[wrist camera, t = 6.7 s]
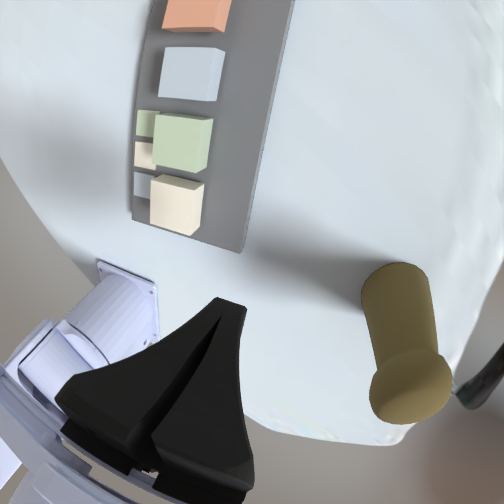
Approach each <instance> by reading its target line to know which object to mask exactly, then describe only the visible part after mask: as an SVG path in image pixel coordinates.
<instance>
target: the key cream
mask: <svg viewBox="0 0 504 504" xmlns="http://www.w3.org/2000/svg"><path fill="white" fill-rule="evenodd" d="M203 192H204V183H199V182H195V181H191V180H187V179H183V178H178V177H174V176H169V175H165V174H162V175H160V176H158V177H156V178H154V179H152V180H151V192H150V224H153V225H157V226H160V227H163V228H166V229H169V230H173V231H176V232H179V233H182V234H185V235H189V236H191V235H192V234H193V233H194V232H195V231H196V230H197V229H198V228H199V227H200V219H201V209H202V200H203Z"/></svg>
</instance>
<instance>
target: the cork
mask: <svg viewBox="0 0 504 504" xmlns="http://www.w3.org/2000/svg"><path fill="white" fill-rule="evenodd" d="M361 302H362V306H363V310H364V313H365V317H366V321H367V325H368V330H369V334H370V338H371V342H372V347H373V351H374V356H375V361H376V365H377V371H376V373H375V374H374V375H373V379H372V382H371V386H370V391H369V400H370V404H371V407H372V410H373V412H374V413H375V415H376V416H377V417H378V418H379V419H381V420H382V421H384V422H388V423H391V424H400V425H402V424H411V423H415V422H419V421H422V420H424V419H427V418H429V417H431V416H432V415H434V414H435V413H437V412H438V411H439V410H440V409H441V408H443V406H445V404H446V403H447V401H448V399H449V397H450V394H451V392H452V373H451V369H450V367H449V366H448V364H447V362H446V361H445V359H444V357H443V356H441V355H439V354H438V343H437V333H436V325H435V317H434V310H433V304H432V298H431V292H430V286H429V281H428V278H427V276H426V275H425V273H424V272H423V271H422V270H421V269H420V268H418V267H417V266H415V265H412V264H408V263H392V264H389V265H386V266H383V267H381V268H380V269H378V270H377V271H375V272H374V273H372V274H371V276H370V277H369V278H368V279H367V280H366V282H365V284H364V286H363V288H362V291H361Z"/></svg>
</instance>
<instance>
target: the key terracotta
mask: <svg viewBox="0 0 504 504" xmlns="http://www.w3.org/2000/svg"><path fill="white" fill-rule="evenodd" d="M231 1H232V0H168V4H167V8H166V12H165V16H164V21H163V25H162V29H165V30H168V31H172V32H175V33H180V32H216V33H224V31H225V27H226V22H227V18H228V14H229V9H230V5H231Z"/></svg>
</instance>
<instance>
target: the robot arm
mask: <svg viewBox="0 0 504 504" xmlns="http://www.w3.org/2000/svg"><path fill="white" fill-rule="evenodd" d="M97 268H98V273H99V279H100V283H99V284H98V285H97V286H96V287H95V288H94V289H93V290H91V291H90V292H89V293H88V294H87V295H86V296H85V297H84V298H83V299H82V300H81V301H80V302H79V303H78V304H77V305H76V306H75V307H74V308H73V309H72V310H71V311H70V312H69V313H68V314H67V315H66V316H65V317H64V318H63V319H62V320H61V321H59V322H58V323H57V324H55V323H56V322H55V321H54V319H53V318H52V319H49V318H45V319H44V320H43V321H42V322H41V323H40V324H39V325H38V326H37V327H36V328H35V329H34V330H33V331H32V332H31V333H30V334H29V335H28V336H27V337H26V338H25V339H24V340H23V341H22V342H21V343H20V344H19V345H18V347H17V348H16V349H15V350H14V351H13V352H12V355H11V356H10V357H9V358H8V360H7V361H6V362H5V363H4V364H3V365H2V364H1V363H0V489H1V488H2V487H3V486H4V484H5V483H6V482H7V481H8V480H9V478H10V477H11V476H12V475H13V473H14V472H15V471H16V470H17V468H18V467H19V466H20V465H21V464H22V463H23V464H24V465H25V466H26V467H27V469H28V471H27V473H26V475H25V476H24V478H23V479H22V481H21V483H20V484H19V486H18V488H17V489H16V491H15V493H14V495H13V496H12V498H11V500H10V501H9V503H8V504H140V503H138V502H136V501H134V500H132V499H130V498H128V497H126V496H124V495H123V494H121V493H119V492H117V491H115V490H113V489H112V488H110V487H108V486H107V485H105V484H103V483H102V482H100V481H98V480H97V479H95V478H94V477H92V476H90V475H89V472H90V470H91V469H92V466H91V465H89V464H88V463H86V462H85V461H84V460H82V459H81V458H79V457H78V456H77V455H75V454H74V453H72V452H71V451H70V450H69V449H67V448H66V447H65V446H63V445H62V440H65V441H66V442H67V443H69V444H70V445H71V446H73V447H74V448H75V449H77V450H78V451H80V452H81V453H83V454H84V455H85V456H87V457H88V458H90V459H91V460H93V461H94V462H96V463H98V464H99V465H101V466H102V467H104V468H105V469H107V470H109V471H111V472H112V473H114V474H116V475H117V476H119V477H121V478H123V479H124V480H126V481H128V482H130V483H132V484H134V485H136V486H138V487H140V488H142V489H144V490H146V491H148V492H150V493H152V494H154V495H156V496H158V497H161V498H163V499H165V500H168V501H170V502H172V503H175V504H242V502H243V501H244V499H245V496H246V493H247V492H248V491H249V490H251V489H252V488H253V486H254V479H255V478H254V463H253V454H252V450H251V447H250V443H249V439H248V435H247V430H246V425H245V420H244V414H243V408H242V401H241V392H240V380H239V348H240V337H241V333H242V329H243V325H244V321H245V317H246V312H247V308H246V307H245V306H242V305H239V304H236V303H233V302H230V301H227V300H224V299H221V298H219V297H216V298H214V299H213V300H212V301H211V302H210V303H209V304H208V305H207V306H206V307H204V308H203V309H202V310H201V311H200V312H199V313H197V314H196V315H195V316H194V317H193V318H191V319H190V320H189V321H187V322H186V323H185V324H184V325H182V326H181V327H179V328H178V329H177V330H175V331H174V332H172V333H171V334H169V335H168V336H166V337H165V338H163V339H162V340H160V335H159V323H158V310H157V293H156V286H155V284H154V283H152V282H149V281H147V280H144V279H142V278H140V277H137V276H135V275H132V274H130V273H128V272H125V271H123V270H120V269H118V268H116V267H113V266H111V265H109V264H107V263H104V262H102V261H99V262H98V263H97ZM151 341H154V342H156V343H155V344H153V345H151V346H150V347H148V348H146V347H147V346H148V344H149V343H150V342H151ZM142 470H143V471H145V472H148V473H149V472H157V471H158V473H159V474H158V476H157V478H156V479H155V478H153V477H150V476H148V475H146V474H144V473H142V472H141V471H142Z"/></svg>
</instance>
